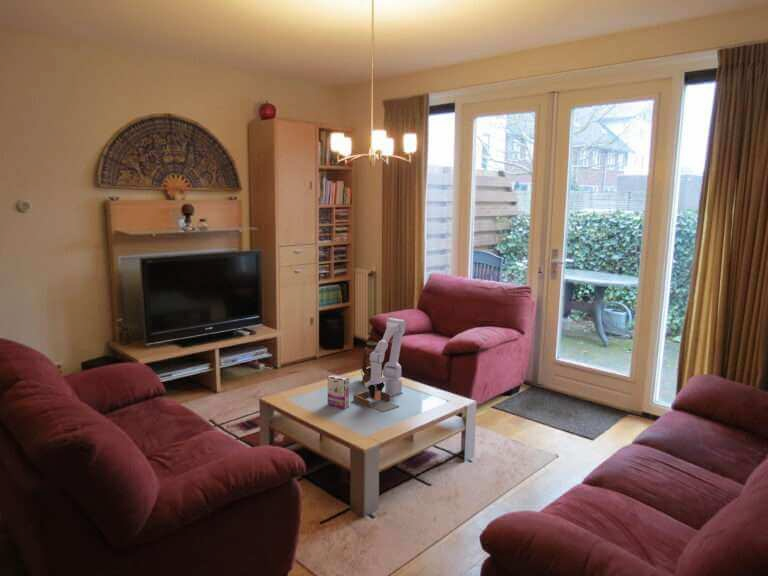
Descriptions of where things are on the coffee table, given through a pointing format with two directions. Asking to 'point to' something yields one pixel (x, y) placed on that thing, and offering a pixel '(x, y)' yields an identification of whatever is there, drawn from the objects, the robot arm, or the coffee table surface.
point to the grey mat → (386, 406)
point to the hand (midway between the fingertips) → (375, 396)
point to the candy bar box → (338, 391)
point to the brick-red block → (376, 395)
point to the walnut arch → (360, 397)
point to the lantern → (367, 372)
